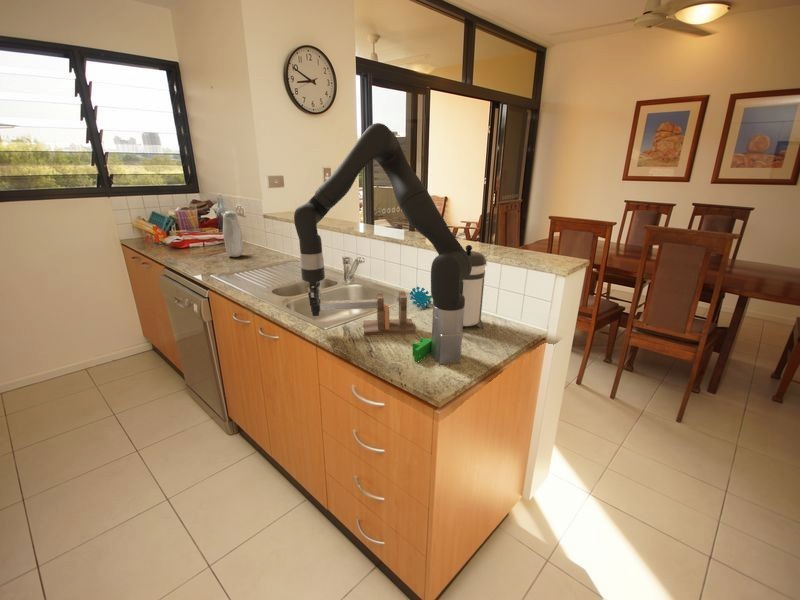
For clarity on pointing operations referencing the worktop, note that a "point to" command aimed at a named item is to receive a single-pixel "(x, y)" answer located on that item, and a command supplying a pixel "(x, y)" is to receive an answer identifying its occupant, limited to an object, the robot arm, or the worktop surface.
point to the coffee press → (473, 288)
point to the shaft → (347, 304)
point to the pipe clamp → (422, 349)
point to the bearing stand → (395, 325)
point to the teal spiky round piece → (420, 297)
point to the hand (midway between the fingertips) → (316, 313)
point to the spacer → (386, 316)
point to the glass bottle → (232, 234)
